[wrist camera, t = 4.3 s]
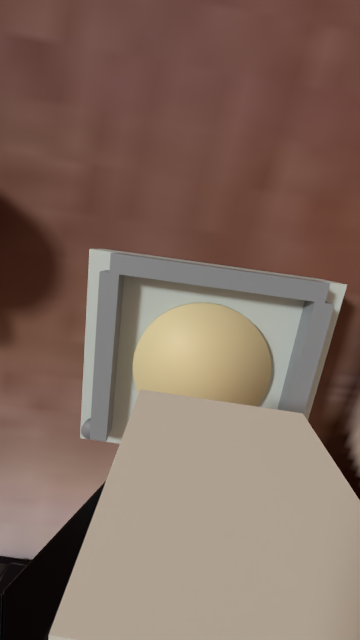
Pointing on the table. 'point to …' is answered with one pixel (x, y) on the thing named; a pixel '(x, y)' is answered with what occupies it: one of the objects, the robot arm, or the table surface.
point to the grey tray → (200, 336)
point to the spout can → (217, 531)
